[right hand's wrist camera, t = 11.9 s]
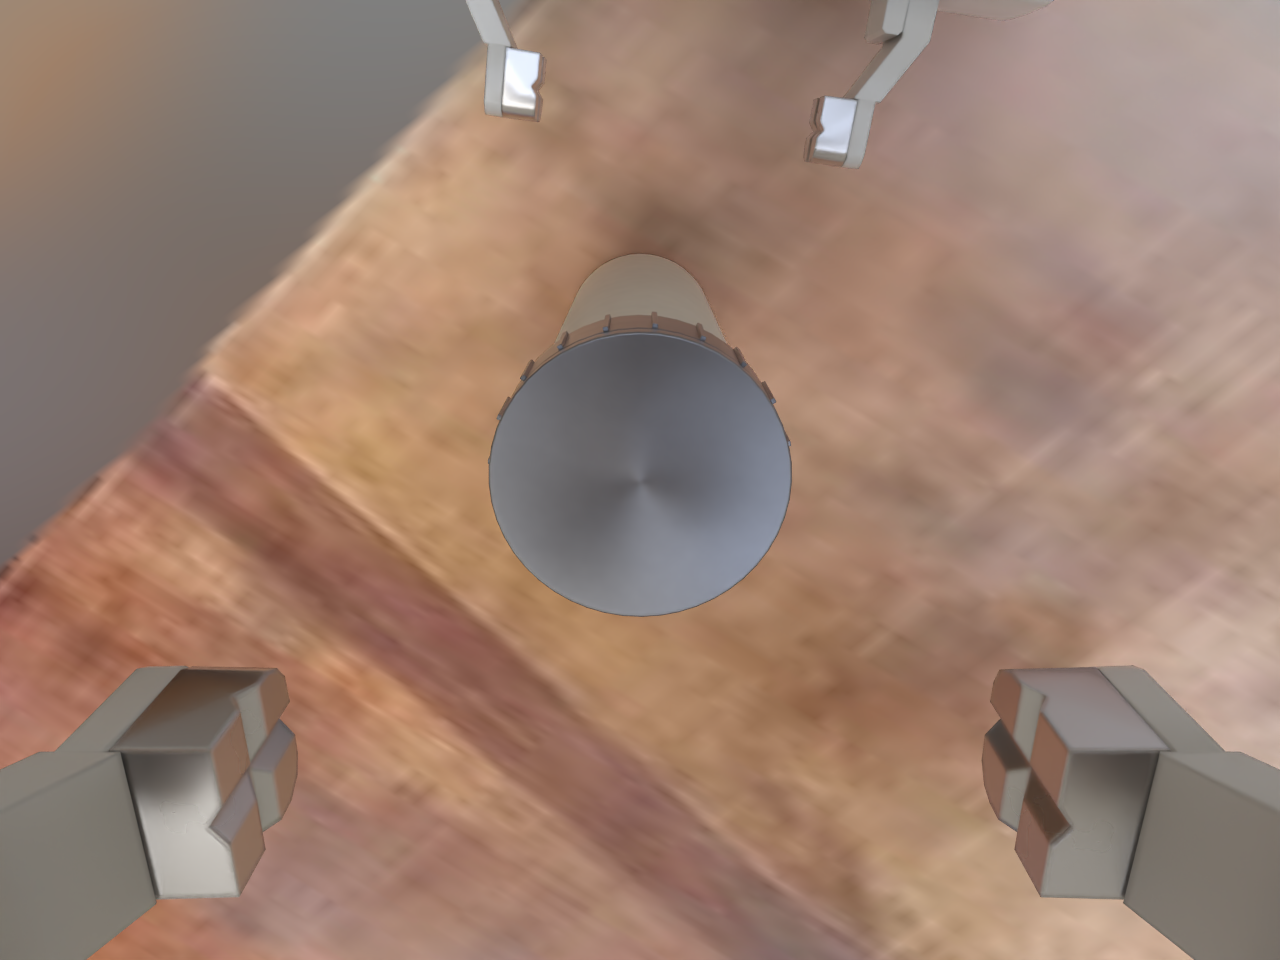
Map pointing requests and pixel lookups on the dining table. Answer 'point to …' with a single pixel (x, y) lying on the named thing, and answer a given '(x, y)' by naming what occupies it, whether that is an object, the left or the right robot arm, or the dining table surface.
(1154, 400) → the dining table surface
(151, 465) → the dining table surface
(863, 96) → the left robot arm
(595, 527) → the lid
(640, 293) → the jar
